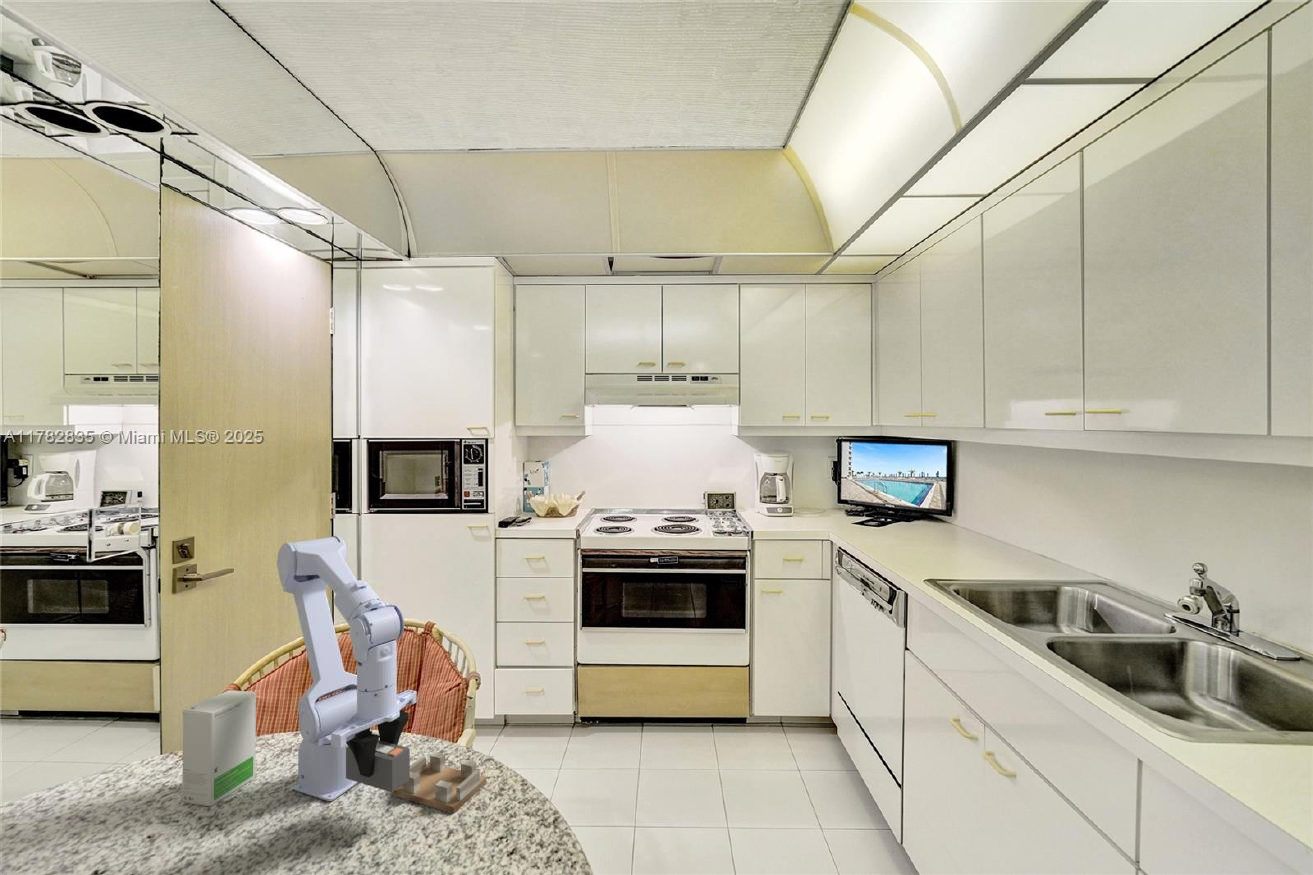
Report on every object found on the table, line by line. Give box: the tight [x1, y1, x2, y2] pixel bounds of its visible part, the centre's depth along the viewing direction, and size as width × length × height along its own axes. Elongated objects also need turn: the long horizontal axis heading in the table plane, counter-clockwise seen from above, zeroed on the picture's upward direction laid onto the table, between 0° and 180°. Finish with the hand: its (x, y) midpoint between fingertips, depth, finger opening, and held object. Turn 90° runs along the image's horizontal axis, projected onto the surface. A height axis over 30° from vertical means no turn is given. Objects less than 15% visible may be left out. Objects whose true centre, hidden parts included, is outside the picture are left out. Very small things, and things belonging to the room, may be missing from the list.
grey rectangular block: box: [346, 739, 411, 793], centre depth 83 cm, size 10×3×5 cm, turn 70°
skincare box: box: [181, 690, 257, 807], centre depth 90 cm, size 8×7×16 cm
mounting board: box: [393, 751, 487, 814], centre depth 89 cm, size 13×8×4 cm, turn 70°
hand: (377, 767), depth 83 cm, fingers closed on grey rectangular block, 3 cm apart
